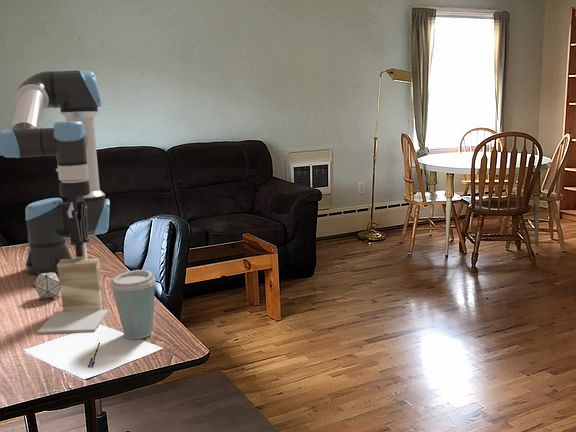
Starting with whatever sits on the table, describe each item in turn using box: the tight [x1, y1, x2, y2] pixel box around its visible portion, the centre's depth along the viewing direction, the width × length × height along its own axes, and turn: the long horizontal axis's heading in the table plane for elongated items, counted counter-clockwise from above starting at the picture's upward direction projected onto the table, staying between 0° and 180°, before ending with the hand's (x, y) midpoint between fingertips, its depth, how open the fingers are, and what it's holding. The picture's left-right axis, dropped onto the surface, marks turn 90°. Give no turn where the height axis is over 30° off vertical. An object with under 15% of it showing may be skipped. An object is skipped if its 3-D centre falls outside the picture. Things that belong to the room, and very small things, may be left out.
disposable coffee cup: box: [110, 269, 157, 340], centre depth 150 cm, size 11×11×15 cm
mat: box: [36, 308, 109, 335], centre depth 160 cm, size 14×14×1 cm
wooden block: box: [57, 257, 105, 311], centre depth 167 cm, size 4×10×14 cm, turn 92°
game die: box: [31, 270, 61, 302], centre depth 179 cm, size 9×8×10 cm
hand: (82, 267), depth 168 cm, fingers closed
